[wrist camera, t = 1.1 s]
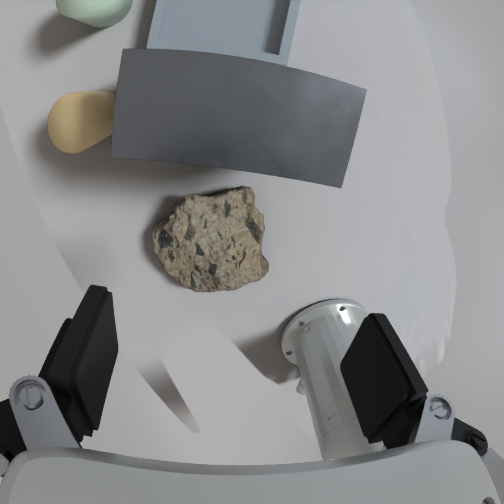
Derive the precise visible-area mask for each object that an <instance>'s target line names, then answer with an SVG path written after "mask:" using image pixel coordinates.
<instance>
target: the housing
mask: <svg viewBox="0 0 504 504" xmlns="http://www.w3.org/2000/svg"><path fill="white" fill-rule="evenodd" d="M366 91H367V90H366V89H363V88H360V87H358V86H355V85H352V84H348V83H345V82H342V81H339V80H336V79H332V78H329V77H325V76H322V75H318V74H315V73H311V72H307V71H303V70H299V69H295V68H291V67H287V66H282V65H278V64H273V63H268V62H263V61H257V60H252V59H246V58H240V57H234V56H227V55H219V54H211V53H202V52H192V51H180V50H163V49H123V51H122V57H121V63H120V70H119V76H118V84H117V91H116V100H115V109H114V119H113V131H112V146H111V157H113V158H128V159H141V160H153V161H164V162H174V163H184V164H193V165H201V166H210V167H218V168H225V169H233V170H240V171H247V172H253V173H260V174H266V175H272V176H278V177H284V178H290V179H296V180H301V181H307V182H312V183H317V184H322V185H327V186H332V187H337V188H341V187H342V183H343V180H344V176H345V173H346V169H347V166H348V162H349V158H350V155H351V151H352V147H353V143H354V140H355V136H356V132H357V128H358V124H359V120H360V116H361V112H362V108H363V104H364V99H365V95H366Z"/></svg>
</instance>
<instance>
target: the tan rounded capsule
mask: <svg viewBox="0 0 504 504" xmlns="http://www.w3.org/2000/svg"><path fill="white" fill-rule="evenodd" d="M115 100H116V95H115V94H114V93H113V92H111V91H108V90H95V91H84V92H76V93H70V94H67V95H64V96H63V97H61V98H60V99H59V100H58V101H57V102H56V103H55V104H54V105H53V107H52V109H51V111H50V113H49V116H48V122H47V129H48V134H49V137H50V139H51V141H52V143H53V144H54V145H55V146H56V147H57V148H58V149H59V150H61V151H63V152H65V153H71V154H72V153H79V152H82V151H83V150H85V149H87V148H89V147H91V146H93V145H94V144H96V143H98V142H100V141H102V140H104V139H106V138H108V137H109V136H111V135H112V131H113V119H114V109H115Z"/></svg>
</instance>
